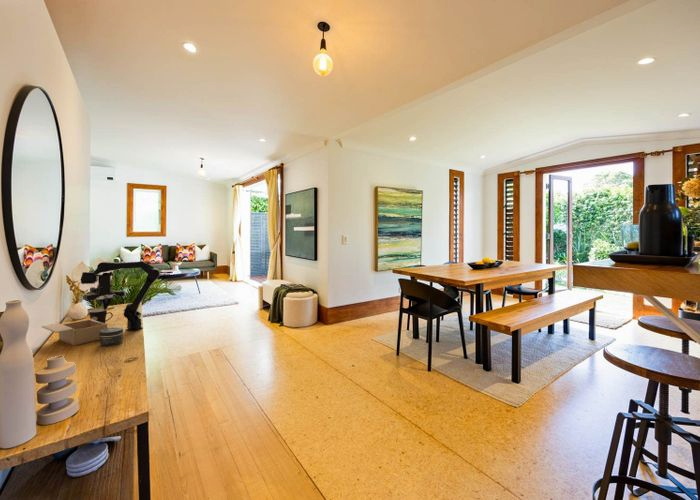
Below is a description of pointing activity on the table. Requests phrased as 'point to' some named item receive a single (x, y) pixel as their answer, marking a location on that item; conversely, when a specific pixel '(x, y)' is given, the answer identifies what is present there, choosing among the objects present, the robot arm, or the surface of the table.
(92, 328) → the shipping carton
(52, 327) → the carton flap
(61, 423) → the table surface
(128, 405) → the table surface
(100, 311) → the coffee mug
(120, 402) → the table surface
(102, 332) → the jar
